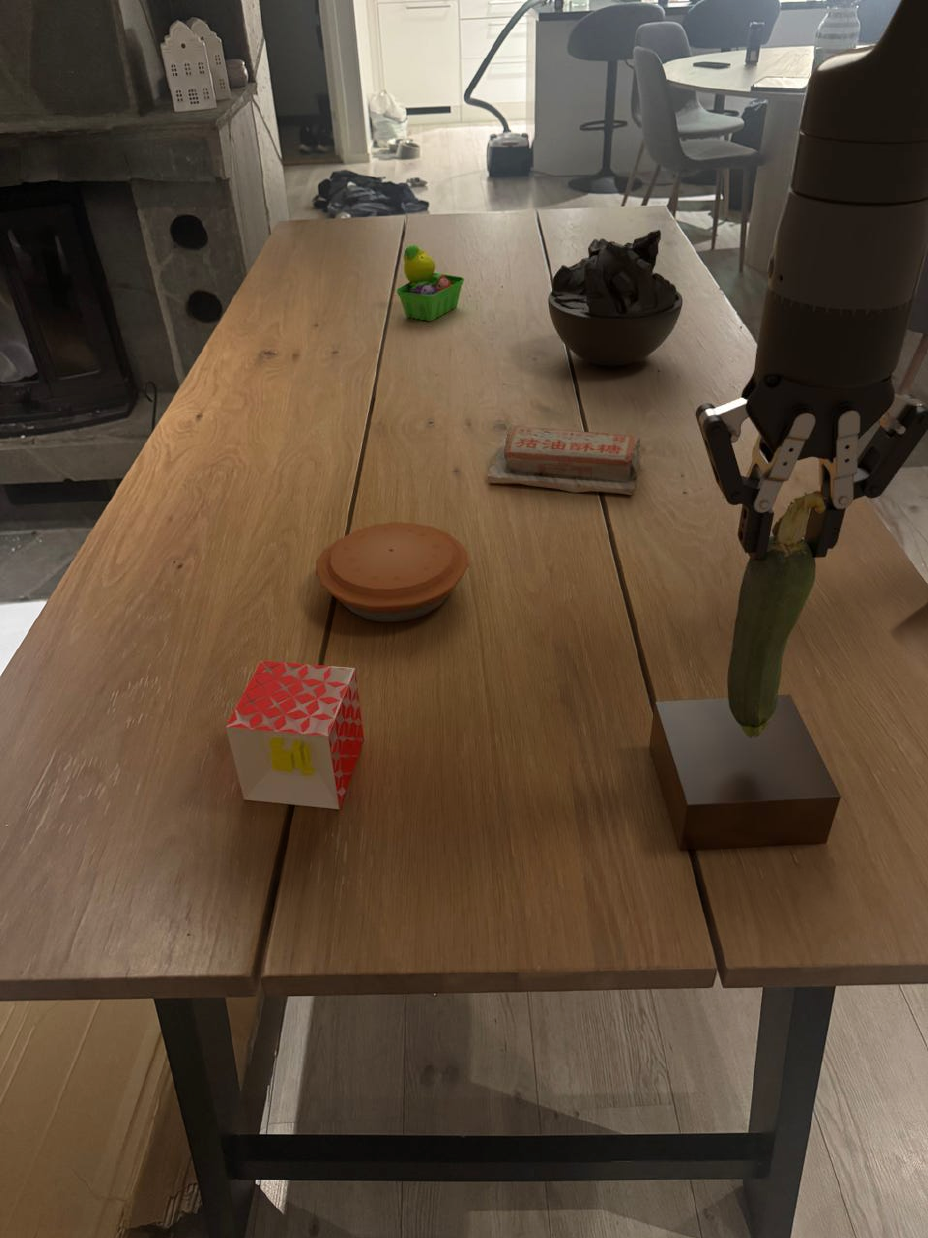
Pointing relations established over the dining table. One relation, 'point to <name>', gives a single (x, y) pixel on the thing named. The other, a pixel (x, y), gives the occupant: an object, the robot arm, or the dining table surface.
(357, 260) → the dining table surface
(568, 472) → the packaged product
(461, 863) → the dining table surface
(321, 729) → the red patterned cube box
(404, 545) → the pie
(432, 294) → the fruit basket
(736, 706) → the vegetable
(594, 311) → the bowl of black rocks
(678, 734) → the block
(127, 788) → the dining table surface
